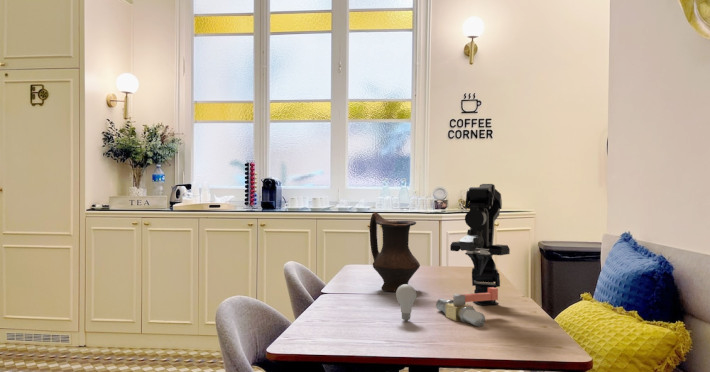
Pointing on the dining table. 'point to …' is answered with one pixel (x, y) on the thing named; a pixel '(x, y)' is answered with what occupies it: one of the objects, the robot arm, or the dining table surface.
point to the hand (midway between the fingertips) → (479, 275)
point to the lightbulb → (406, 299)
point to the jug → (392, 252)
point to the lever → (475, 297)
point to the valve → (460, 312)
